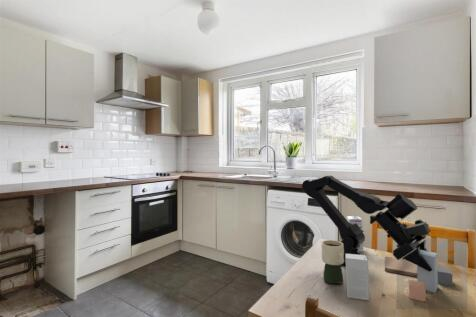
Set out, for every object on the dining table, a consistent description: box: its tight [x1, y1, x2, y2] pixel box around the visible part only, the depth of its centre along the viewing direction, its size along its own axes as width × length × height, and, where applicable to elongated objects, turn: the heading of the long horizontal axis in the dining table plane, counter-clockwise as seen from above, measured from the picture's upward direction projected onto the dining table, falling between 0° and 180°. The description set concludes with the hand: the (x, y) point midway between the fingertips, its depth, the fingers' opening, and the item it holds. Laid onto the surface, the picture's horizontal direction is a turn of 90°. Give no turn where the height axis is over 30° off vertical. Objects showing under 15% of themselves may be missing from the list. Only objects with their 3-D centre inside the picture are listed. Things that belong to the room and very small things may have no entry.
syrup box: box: [346, 215, 364, 252], centre depth 116 cm, size 6×6×14 cm
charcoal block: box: [438, 266, 454, 287], centre depth 85 cm, size 4×4×4 cm
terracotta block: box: [407, 279, 427, 303], centre depth 76 cm, size 4×4×4 cm
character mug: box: [321, 239, 344, 284], centre depth 87 cm, size 11×7×13 cm, turn 14°
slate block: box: [416, 250, 439, 294], centre depth 81 cm, size 4×4×11 cm
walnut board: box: [384, 256, 417, 278], centre depth 96 cm, size 12×12×1 cm
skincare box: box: [345, 254, 370, 301], centre depth 77 cm, size 6×4×12 cm
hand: (432, 268), depth 80 cm, fingers open, 5 cm apart
